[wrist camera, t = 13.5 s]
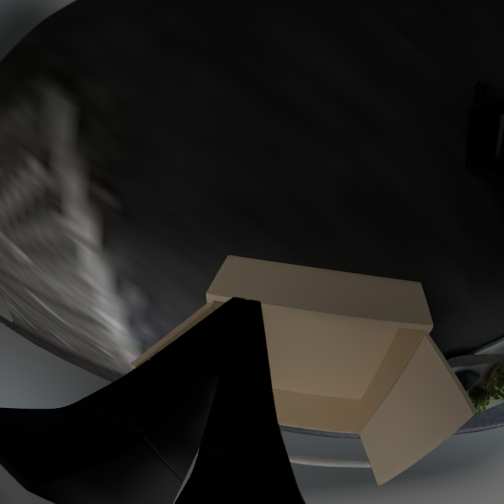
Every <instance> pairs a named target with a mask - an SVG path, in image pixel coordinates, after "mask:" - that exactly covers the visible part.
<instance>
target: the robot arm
mask: <svg viewBox="0 0 504 504" xmlns="http://www.w3.org/2000/svg"><path fill="white" fill-rule="evenodd" d="M482 86H483V87H484V89H485V90H484V92H482V90H481V87H482ZM468 142H469V148H468V153H467V159H466V168H467V169H468V170H469V171H470V172H472V173H475V174H478V175H482V176H485V177H488V178H491V179H494V180H497V181H500V182H503V183H504V91H503V90H501V89H499V88H497V87H495V86H492V85H490V84H488V83H485V82H478V83H477V84H476V91H475V103H474V106H473V107H472V113H471V122H470V129H469V136H468ZM473 162H474V167H472V168H471V163H473ZM199 447H200V448H199ZM198 449H199V452H198V457H197V459H196V462H195V465H194V468H193V471H192V473H191V476H190V478H189V479H188V481H187V483H186V485H185V487H184V488H183V490H182V491H181V493H180V495H179V497H178V498H177V500H176V501H175V503H174V504H306V503H305V501H304V499H303V497H302V495H301V492H300V490H299V488H298V485H297V482H296V479H295V476H294V473H293V470H292V467H291V464H290V461H289V457H288V454H287V451H286V448H285V445H284V442H283V438H282V434H281V431H280V427H279V423H278V419H277V413H276V407H275V401H274V393H273V387H272V379H271V372H270V364H269V357H268V349H267V342H266V334H265V327H264V320H263V312H262V305H261V302H260V301H257V300H251V299H248V300H246V299H245V298H240V297H232V298H231V299H229V300H228V301H227V302H225V303H224V304H223V305H221V306H220V307H219V308H217V309H216V310H215V311H213V312H212V313H211V314H209V315H208V316H207V317H205V318H204V319H203V320H201V321H200V322H199V323H197V324H196V325H194V326H193V327H192V328H190V329H189V330H188V331H186V332H185V333H184V334H182V335H181V336H179V337H178V338H177V339H175V340H174V341H173V342H171V343H170V344H169V345H167V346H166V347H164V348H163V349H162V350H160V351H159V352H157V353H156V354H155V355H153V356H152V357H151V358H150V360H146V361H145V362H143V363H142V364H141V365H139V366H138V367H136V368H135V369H133V370H132V371H130V372H129V373H127V374H126V375H124V376H123V377H121V378H119V379H118V380H116V381H114V382H112V383H111V384H109V385H107V386H106V387H103V388H102V389H100V390H98V391H96V392H94V393H92V394H90V395H89V396H87V397H85V398H83V399H81V400H79V401H77V402H75V403H73V404H71V405H68V406H65V407H61V408H55V409H18V408H0V504H173V502H174V500H175V498H176V496H177V494H178V492H179V490H180V488H181V485H182V483H183V481H184V479H185V477H186V475H187V473H188V471H189V469H190V466H191V464H192V462H193V460H194V458H195V455H196V454H197V451H198Z"/></svg>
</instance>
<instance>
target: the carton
mask: <svg viewBox="0 0 504 504" xmlns="http://www.w3.org/2000/svg"><path fill="white" fill-rule="evenodd" d="M206 297H207V303H209V304H211V305H212V308H213V311H215V310H216V309H217V308H219V307H220V306H221V305H223V304H224V303H225V302H227V301H228V300H229V299H231V298H232V297H240V298H245V299H246V300H248V299H251V300H257V301H260V302H261V305H262V312H263V320H264V327H265V334H266V342H267V349H268V357H269V364H270V372H271V379H272V387H273V393H274V401H275V407H276V413H277V419H278V423H279V425H285V426H291V427H298V428H305V429H312V430H321V431H330V432H340V433H353V434H359V433H360V432H361V431H362V430H363V428H364V427H365V426H366V424H367V423H368V422H369V421H370V419H371V418H372V417H373V415H374V414H375V413H376V411H377V410H378V409H379V407H380V406H381V404H382V403H383V402H384V400H385V399H386V397H387V396H388V394H389V393H390V391H391V390H392V389H393V387H394V386H395V384H396V382H397V381H398V379H399V378H400V376H401V375H402V373H403V372H404V370H405V368H406V367H407V365H408V363H409V362H410V360H411V359H412V357H413V355H414V353H415V352H416V350H417V348H418V346H419V345H420V343H421V341H422V339H423V338H424V336H425V335H427V334H429V333H430V332H431V330H432V328H433V326H434V325H433V321H432V318H431V314H430V311H429V308H428V304H427V301H426V298H425V295H424V292H423V288H422V285H421V282H414V281H407V280H400V279H393V278H385V277H378V276H371V275H364V274H357V273H350V272H342V271H335V270H328V269H321V268H314V267H307V266H300V265H293V264H286V263H280V262H273V261H266V260H259V259H252V258H245V257H238V256H232V255H228V256H227V258H226V260H225V261H224V263H223V265H222V267H221V268H220V270H219V272H218V274H217V275H216V277H215V279H214V280H213V282H212V284H211V286H210V287H209V289H208V291H207V293H206Z"/></svg>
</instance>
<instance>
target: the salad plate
mask: <svg viewBox="0 0 504 504" xmlns="http://www.w3.org/2000/svg"><path fill="white" fill-rule="evenodd" d="M447 362H448V364H449V365H450V367H451V368H452V370H453V372H454V373H455V375H456V376H457V378H458V380H459V381H460V383H461V384H462V386H463V388H464V389H465V391H466V393H467V395H468V396H469V398H470V400H471V401H472V403H473V405H474V407H475V408H476V410H477V412H476V413H475V414H474V415H477V414H479V413H480V412H482V411H484V410H487V409H489V408H491V407H495V406H496V405H499V404H501V403H503V402H504V337H503V338H501V339H498V340H496V341H494V342H491V343H489V344H487V345H484V346H481V347H479V348H476V349H473V350H471V351H468V352H466V353H463V354H461V355H459V356H456V357H453V358H451V359H449V360H447ZM474 385H476V386H474ZM474 415H473V416H474Z"/></svg>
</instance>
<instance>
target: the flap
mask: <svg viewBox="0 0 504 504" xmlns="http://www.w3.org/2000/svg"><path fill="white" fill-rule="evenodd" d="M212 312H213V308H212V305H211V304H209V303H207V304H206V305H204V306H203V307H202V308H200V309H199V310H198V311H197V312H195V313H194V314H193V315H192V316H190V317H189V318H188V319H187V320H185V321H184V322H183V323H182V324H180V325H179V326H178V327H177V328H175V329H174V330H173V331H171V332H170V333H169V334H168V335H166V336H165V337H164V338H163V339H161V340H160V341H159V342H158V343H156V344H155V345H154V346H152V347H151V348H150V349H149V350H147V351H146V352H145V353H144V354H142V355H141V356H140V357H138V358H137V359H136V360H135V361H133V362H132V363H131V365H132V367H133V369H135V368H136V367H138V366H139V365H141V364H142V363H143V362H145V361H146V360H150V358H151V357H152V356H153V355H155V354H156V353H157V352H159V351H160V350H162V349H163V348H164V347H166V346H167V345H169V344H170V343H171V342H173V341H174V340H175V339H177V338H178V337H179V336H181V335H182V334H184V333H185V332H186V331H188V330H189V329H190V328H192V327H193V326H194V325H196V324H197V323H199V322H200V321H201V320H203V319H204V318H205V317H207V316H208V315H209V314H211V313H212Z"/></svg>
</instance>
